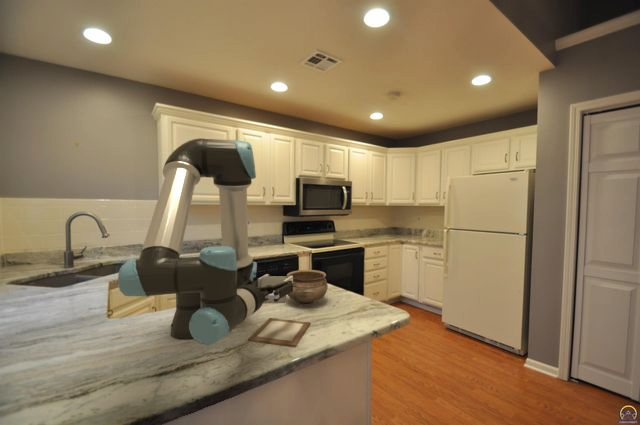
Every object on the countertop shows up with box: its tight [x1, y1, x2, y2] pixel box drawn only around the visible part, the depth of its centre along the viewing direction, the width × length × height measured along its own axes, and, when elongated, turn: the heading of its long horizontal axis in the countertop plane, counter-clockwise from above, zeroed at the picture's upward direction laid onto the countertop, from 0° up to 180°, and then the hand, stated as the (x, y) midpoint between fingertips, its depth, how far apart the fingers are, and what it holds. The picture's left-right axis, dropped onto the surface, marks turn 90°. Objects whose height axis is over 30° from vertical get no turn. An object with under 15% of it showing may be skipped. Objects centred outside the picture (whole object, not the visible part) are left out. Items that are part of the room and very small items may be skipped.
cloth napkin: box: [247, 317, 311, 348], centre depth 89 cm, size 16×16×1 cm
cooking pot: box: [286, 269, 328, 305], centre depth 117 cm, size 25×19×12 cm
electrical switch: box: [260, 275, 288, 304], centre depth 85 cm, size 8×5×8 cm, turn 90°
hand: (279, 278), depth 89 cm, fingers closed on electrical switch, 8 cm apart
